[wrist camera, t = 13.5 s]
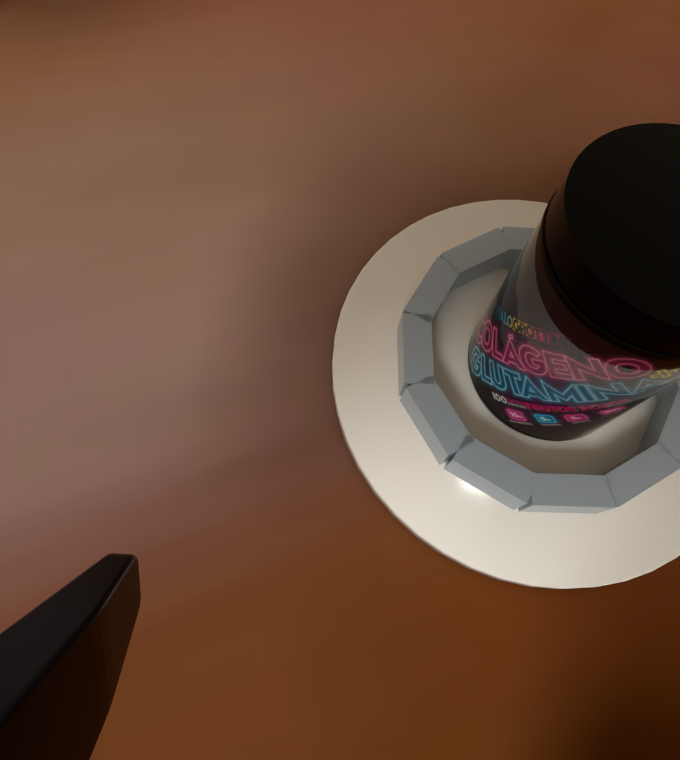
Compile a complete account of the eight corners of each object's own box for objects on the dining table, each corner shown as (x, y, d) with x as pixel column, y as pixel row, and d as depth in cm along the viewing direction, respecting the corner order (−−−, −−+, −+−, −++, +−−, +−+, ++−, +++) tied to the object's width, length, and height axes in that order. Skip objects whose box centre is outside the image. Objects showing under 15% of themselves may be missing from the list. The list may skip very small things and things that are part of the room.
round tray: (776, 594, 23) (830, 592, 20) (325, 583, 22) (328, 581, 20) (683, 221, 29) (716, 189, 27) (336, 203, 29) (338, 167, 26)
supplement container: (443, 314, 25) (528, 135, 16) (583, 293, 26) (746, 110, 17) (487, 461, 23) (619, 355, 13) (639, 431, 24) (867, 313, 14)
